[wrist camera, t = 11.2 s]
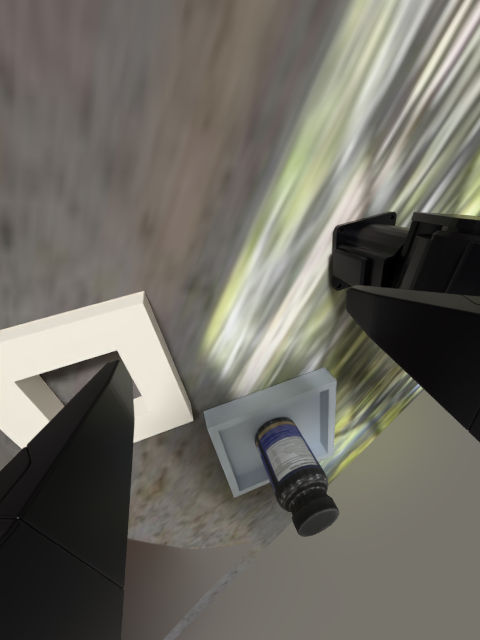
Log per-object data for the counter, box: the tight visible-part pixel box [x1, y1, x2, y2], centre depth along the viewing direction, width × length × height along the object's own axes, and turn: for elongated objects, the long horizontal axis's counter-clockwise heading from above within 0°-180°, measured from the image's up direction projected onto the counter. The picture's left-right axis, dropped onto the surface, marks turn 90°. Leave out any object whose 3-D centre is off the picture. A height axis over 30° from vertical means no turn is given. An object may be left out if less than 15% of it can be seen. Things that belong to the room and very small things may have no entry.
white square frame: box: [0, 291, 193, 449], centre depth 22 cm, size 14×14×2 cm
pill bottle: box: [255, 417, 339, 537], centre depth 29 cm, size 6×6×11 cm
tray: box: [204, 367, 337, 498], centre depth 33 cm, size 16×16×2 cm
